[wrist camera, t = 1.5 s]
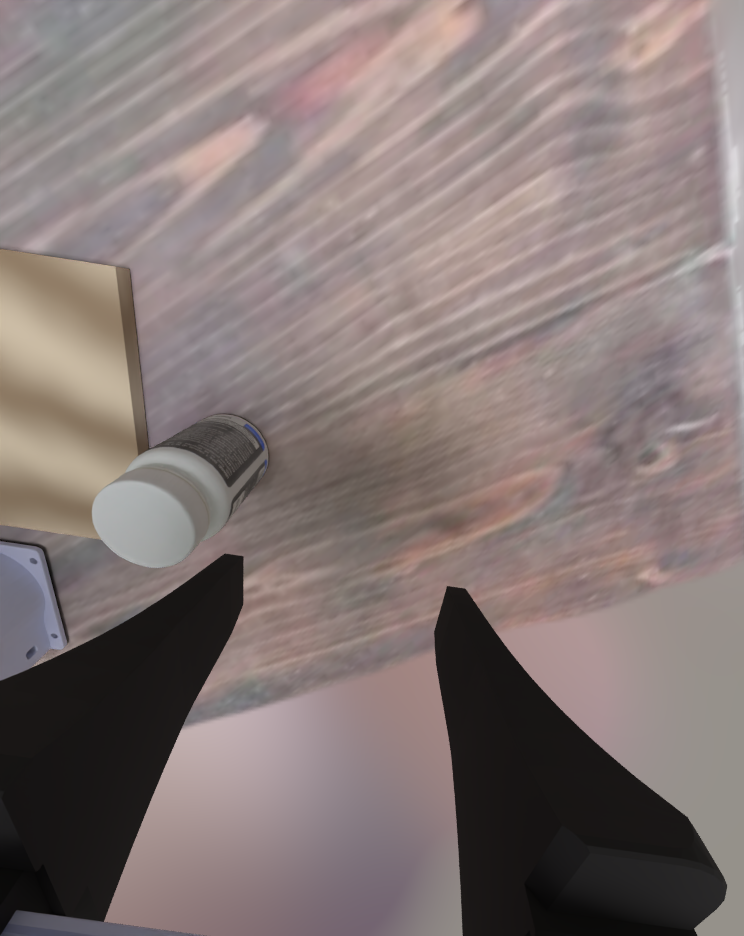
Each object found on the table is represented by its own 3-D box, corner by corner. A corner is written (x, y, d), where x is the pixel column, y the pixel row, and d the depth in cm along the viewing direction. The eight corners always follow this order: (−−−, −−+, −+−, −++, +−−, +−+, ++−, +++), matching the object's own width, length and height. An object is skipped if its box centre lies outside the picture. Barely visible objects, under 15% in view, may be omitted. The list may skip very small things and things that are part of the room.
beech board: (158, 537, 24) (148, 547, 23) (-21, 511, 24) (-39, 520, 23) (129, 269, 18) (113, 266, 17) (-113, 232, 18) (-143, 226, 17)
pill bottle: (181, 417, 21) (57, 475, 13) (260, 408, 20) (180, 464, 13) (205, 490, 23) (109, 580, 15) (278, 484, 22) (217, 573, 14)
